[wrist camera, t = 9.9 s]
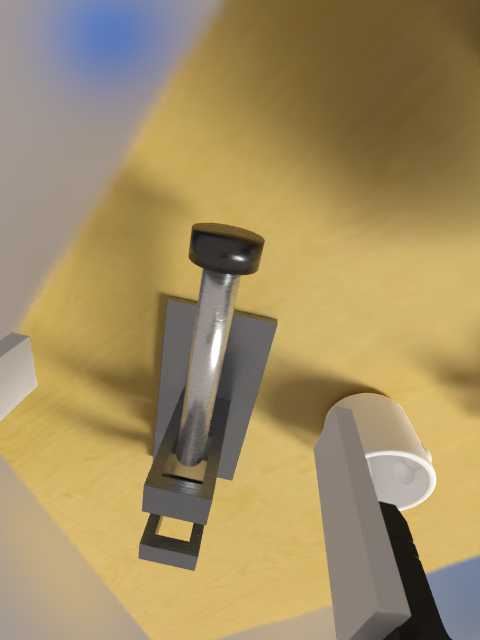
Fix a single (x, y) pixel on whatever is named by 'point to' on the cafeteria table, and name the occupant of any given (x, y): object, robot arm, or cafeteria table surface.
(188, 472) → the spacer
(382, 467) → the mug
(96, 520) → the cafeteria table surface
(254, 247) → the shaft
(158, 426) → the bearing block
